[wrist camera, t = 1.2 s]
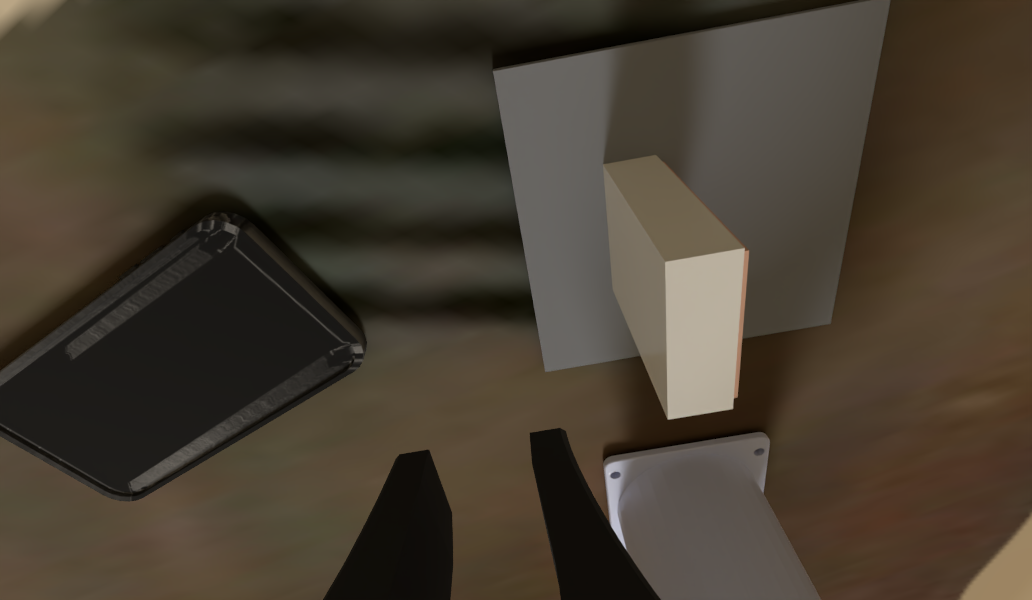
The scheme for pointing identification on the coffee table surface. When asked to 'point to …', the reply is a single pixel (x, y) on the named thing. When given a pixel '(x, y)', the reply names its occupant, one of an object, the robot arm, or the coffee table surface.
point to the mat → (695, 161)
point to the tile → (676, 285)
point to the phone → (177, 361)
